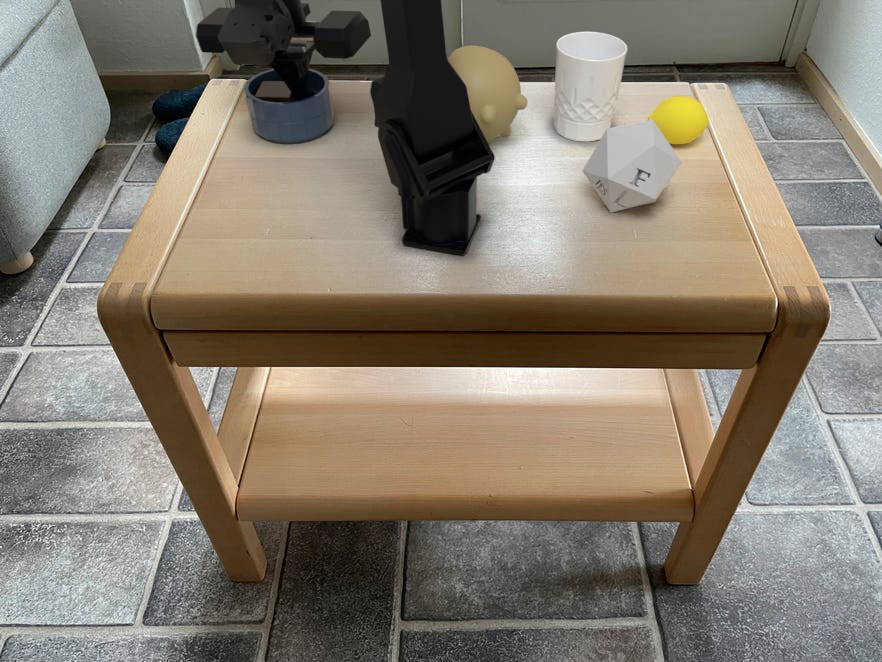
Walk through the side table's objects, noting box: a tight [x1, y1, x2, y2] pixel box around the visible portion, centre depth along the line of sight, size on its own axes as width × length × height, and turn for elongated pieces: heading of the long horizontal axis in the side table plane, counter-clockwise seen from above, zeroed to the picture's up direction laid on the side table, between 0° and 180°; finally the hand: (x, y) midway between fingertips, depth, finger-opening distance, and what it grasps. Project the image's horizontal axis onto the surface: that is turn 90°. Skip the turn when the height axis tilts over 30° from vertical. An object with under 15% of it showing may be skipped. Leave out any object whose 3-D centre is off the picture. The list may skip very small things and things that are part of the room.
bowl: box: [243, 68, 335, 144], centre depth 88 cm, size 10×10×5 cm
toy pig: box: [447, 45, 529, 143], centre depth 85 cm, size 10×12×11 cm
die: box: [582, 119, 683, 213], centre depth 76 cm, size 8×9×10 cm
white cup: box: [553, 31, 628, 143], centre depth 86 cm, size 8×8×10 cm
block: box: [255, 81, 295, 103], centre depth 88 cm, size 4×4×4 cm
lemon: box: [647, 95, 710, 145], centre depth 86 cm, size 7×5×5 cm
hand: (302, 104), depth 88 cm, fingers closed, pressing on block
